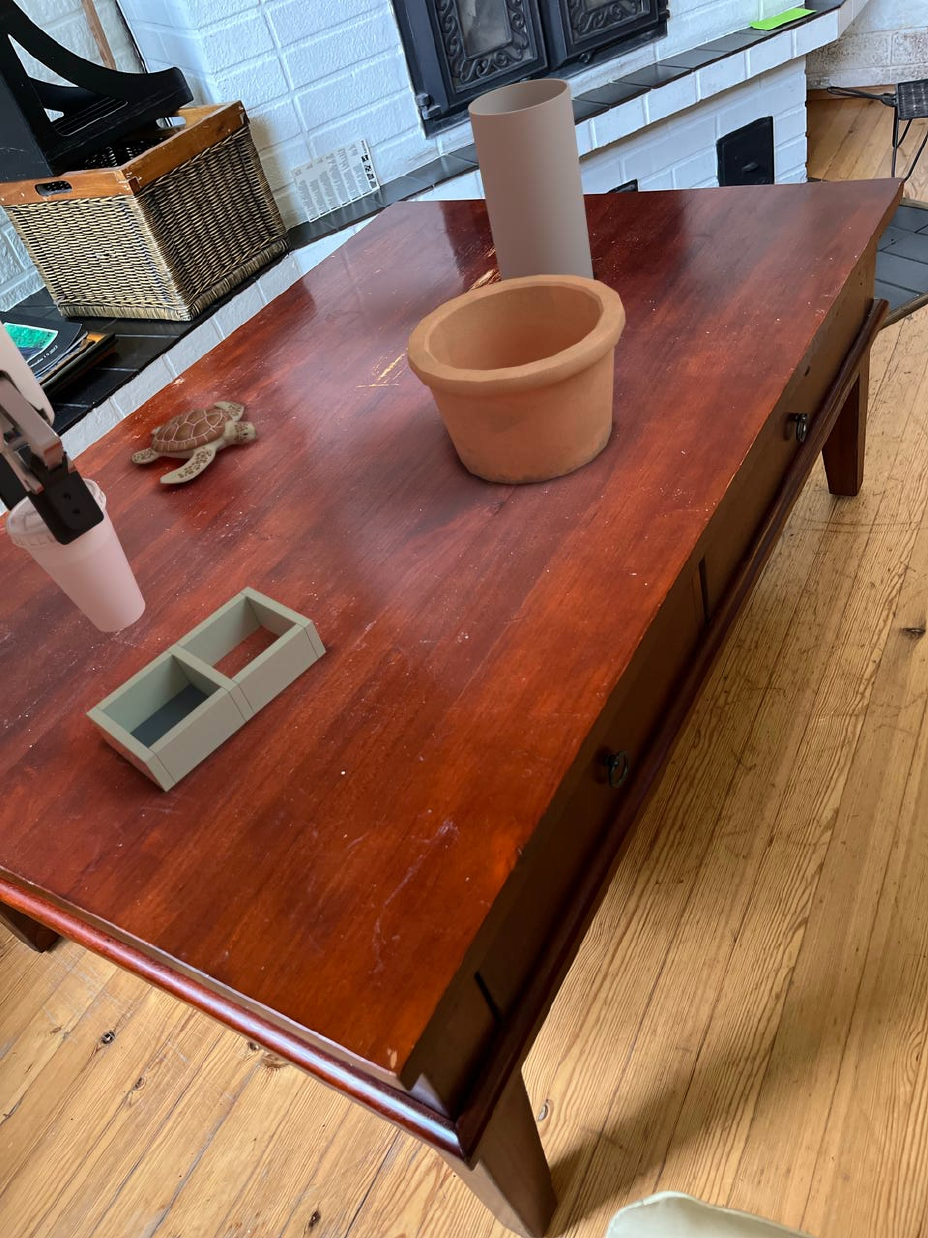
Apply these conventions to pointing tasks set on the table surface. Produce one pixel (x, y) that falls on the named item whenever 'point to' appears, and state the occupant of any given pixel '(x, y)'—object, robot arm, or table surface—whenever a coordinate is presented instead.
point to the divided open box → (204, 688)
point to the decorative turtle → (197, 438)
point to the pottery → (523, 373)
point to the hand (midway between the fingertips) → (55, 513)
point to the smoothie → (83, 564)
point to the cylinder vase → (532, 179)
